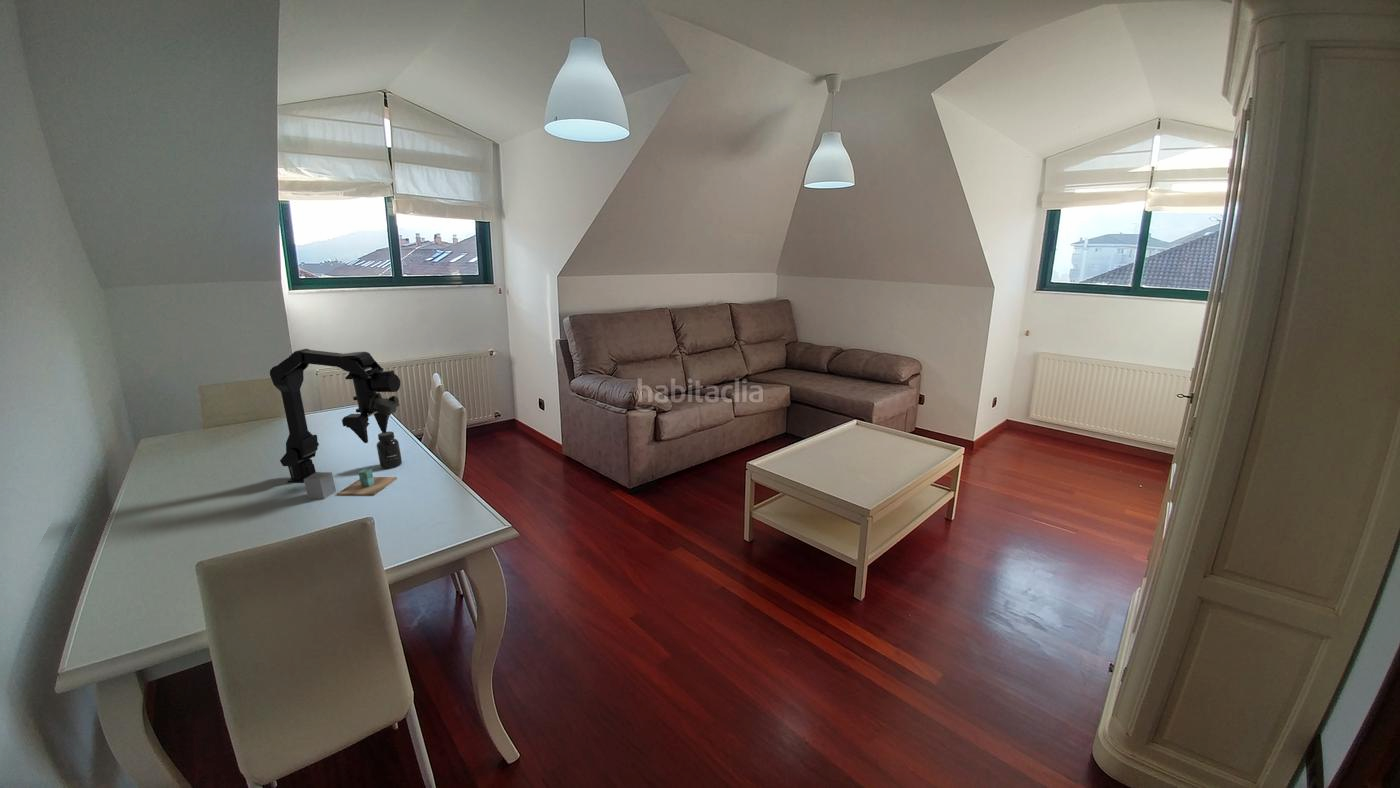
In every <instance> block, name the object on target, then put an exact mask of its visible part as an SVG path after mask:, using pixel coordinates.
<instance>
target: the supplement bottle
mask: <svg viewBox="0 0 1400 788" xmlns="http://www.w3.org/2000/svg"><path fill="white" fill-rule="evenodd" d="M377 437H378V442H377V443H376V451H377V457H378V460H379V461H378V462H379V465H380V468H381V469H385V470H387V469H393V468H398V467H400V466H401V465H402V464H403V461H402V460H403V459H402V453H401V448H400V443H399V440H398V439H396V438H395V433H394V431H386V433H382V432H380V433H378V435H377Z"/></svg>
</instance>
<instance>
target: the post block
mask: <svg viewBox="0 0 1400 788" xmlns="http://www.w3.org/2000/svg"><path fill="white" fill-rule="evenodd" d="M358 477H359V478H358V479H357V480H355V481H354V482H352V483H351V484H350V485H348V486H346V487H345V488H343V489H342V490H340V491H339V492H336V493H337V496H375V495H377V494H378V493H380V492H381V491H382V490H384V489H385V488H386V487H388V486H389V485H390V484H392V483H393V482H394V483H395V481H396V480H398V477H397V476H374V474H373V470H372V468H363V469H362V470H360V471H358Z"/></svg>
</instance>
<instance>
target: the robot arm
mask: <svg viewBox="0 0 1400 788" xmlns="http://www.w3.org/2000/svg"><path fill="white" fill-rule="evenodd" d="M309 365H315V366H316V365H317V366H327V367H332V368H333V367H335V368H339V369H341V370H342V371H344V372H348V374H347V375H346V376H345V378H344V379H345V380H352V384H353V387H354V392H355V396H353V397H352V399H353V401H356V402H357V407H358V408H356V409H355V413H350V414H348V415H346V416H344V417H343V418H342V419H341V423H342V427H346V428H349V429H350V430H351V431H353V432H354V434H355V435H357V437H358V438H359V439H360V440H361V441H362V442H363V444H367V443H369V437H368V429H367V428H368V426H369V425H370V424H371V423H370V422H369V418H370V417H371V416H374V419H375V421H376V423H377V425H378V427H379V429H380V431H381V433H386V432H387V430H388V423H389V418H390V416H391V415H392V414H394V413H396V412H397V407H399V406H400V403H399V398H398V396H396V395H391V396H389V398H388V397H386V398H384V397H382V394H381V393H397V392H398V391H399V390H400V387H401V378H400V377H399V376H398V375H397V373H396V374H395V371H394V370H393V369H392V370H384V368H383V367H382V366H381V365H380V364H379V363H378V362H377V361H376V360H375V359H374V357H373V356H372V355H371V353H370V352H367V351H353V352H348V353H345V352H344V353H342V352H341V353H340V352H334V351H333V352H332V351H323V350H314V349H309V348H304V349H302V348H301V349H299V350H295V351H294V352H292V353H291V354H290V355H289V356H288V357H287V358H285V359H284V360H282V361H281V362H280V363H278V364H277V365H274V366H272V368H270V370H269V376H270V380H271V382H272V384H273V386H274V387H275V388H276V389H277V390H278V391H279V392H280V394H281V398H282V404H283V408H284V413H285V418H286V423H287V427H288V433H289V434H288V437H287V440H286V442H285V454H283V456H282V457H281V459H280V460H279V462H280V463H281V465H282V466H283V467H287V468H288V472H289V475H290V478H289V479H288V480H287V483H292V482H293V483H304V479H305V478H307V477H309V476H310V475H312V474H314V473H316V472H317V471H316V468H315V464H314V462H313V460H312V458H314V457H316V454H317V450H318V448H319V446H320V444H319V442H318V435H317V434H312V433H311V432H310V431H309V430H308V424H307V420H306V413H305V410H304V409H305V408H304V403H303V398H302V393H301V388H302V385H303V383H304V371H305V370H307V368H308V367H309Z"/></svg>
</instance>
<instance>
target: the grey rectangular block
mask: <svg viewBox="0 0 1400 788" xmlns="http://www.w3.org/2000/svg"><path fill="white" fill-rule="evenodd" d="M303 483H304V487H305V490H306V493H307V494H306V495H307V499H309V500H311V499H312V500H313V499H314V500H324V499H326V498H328V497H330V496H331V495H333V494H335V493H337V489H336V488H337V487H336V485H335V480H334V476H333V472H331V471H329V472H328V471H327V472H325V471H321V472H320V471H319V472H318V471H316V473H314V474H312V475H310V476H309V477H307V478H305V479H304V482H303Z"/></svg>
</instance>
